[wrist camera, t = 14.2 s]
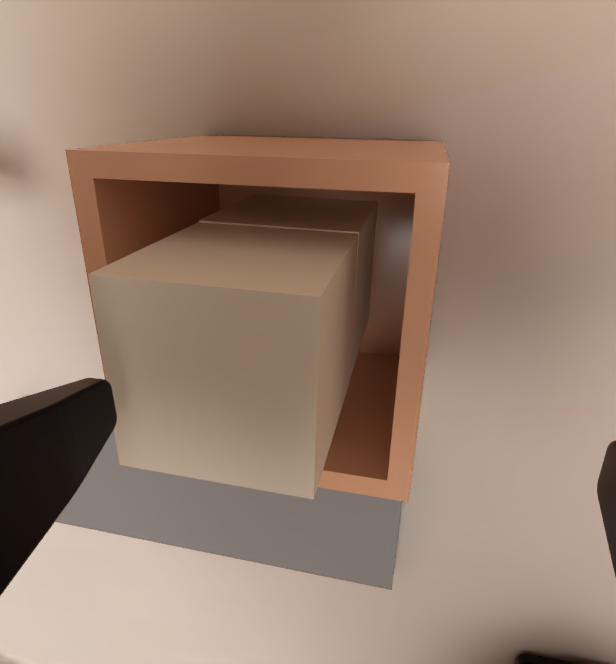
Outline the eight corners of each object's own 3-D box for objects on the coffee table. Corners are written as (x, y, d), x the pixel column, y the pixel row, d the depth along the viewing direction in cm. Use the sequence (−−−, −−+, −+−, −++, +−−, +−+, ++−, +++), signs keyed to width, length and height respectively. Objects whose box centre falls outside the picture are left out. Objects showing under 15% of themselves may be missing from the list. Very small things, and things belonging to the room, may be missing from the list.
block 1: (368, 320, 19) (348, 382, 15) (257, 307, 20) (207, 363, 16) (377, 201, 18) (358, 232, 13) (255, 194, 18) (198, 220, 14)
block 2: (349, 383, 15) (313, 499, 10) (208, 365, 16) (119, 464, 11) (358, 233, 13) (320, 296, 9) (198, 221, 14) (88, 274, 10)
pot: (416, 365, 20) (408, 502, 13) (219, 342, 22) (118, 453, 15) (442, 141, 17) (450, 163, 10) (206, 134, 19) (65, 149, 11)
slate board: (393, 569, 25) (391, 589, 24) (51, 502, 29) (37, 518, 28) (406, 455, 22) (405, 472, 21) (25, 398, 26) (8, 410, 25)
